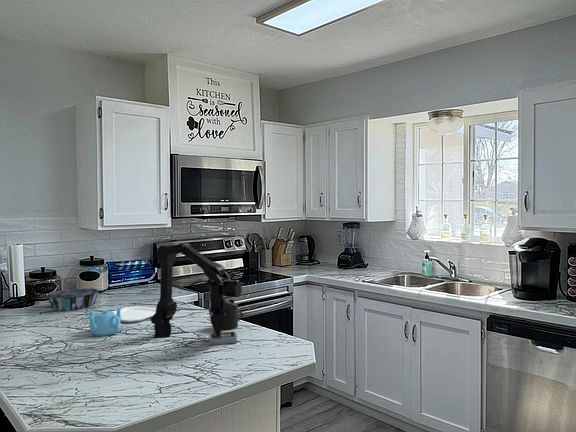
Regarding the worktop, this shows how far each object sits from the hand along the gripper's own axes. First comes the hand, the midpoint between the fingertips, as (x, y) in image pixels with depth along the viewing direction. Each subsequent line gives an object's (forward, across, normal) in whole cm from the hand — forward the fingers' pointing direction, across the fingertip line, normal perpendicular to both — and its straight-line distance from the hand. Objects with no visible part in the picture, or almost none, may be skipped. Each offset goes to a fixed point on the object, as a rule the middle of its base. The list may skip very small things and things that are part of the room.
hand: (217, 333), depth 192 cm
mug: (+4, +21, -7) cm, 22 cm away
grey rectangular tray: (+4, 0, -2) cm, 4 cm away
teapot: (+4, +27, +49) cm, 56 cm away
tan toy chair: (+3, 0, -2) cm, 3 cm away
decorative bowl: (+4, +86, +75) cm, 114 cm away
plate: (+4, +54, +40) cm, 67 cm away
